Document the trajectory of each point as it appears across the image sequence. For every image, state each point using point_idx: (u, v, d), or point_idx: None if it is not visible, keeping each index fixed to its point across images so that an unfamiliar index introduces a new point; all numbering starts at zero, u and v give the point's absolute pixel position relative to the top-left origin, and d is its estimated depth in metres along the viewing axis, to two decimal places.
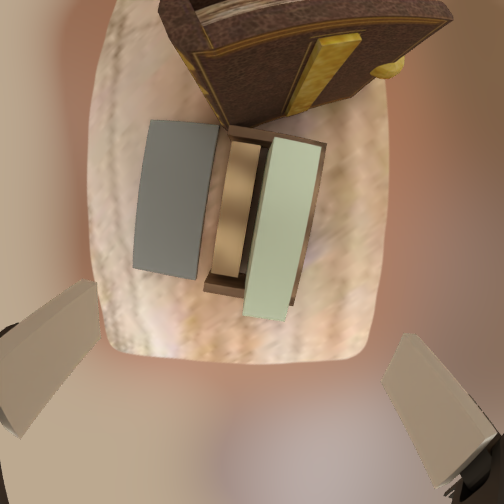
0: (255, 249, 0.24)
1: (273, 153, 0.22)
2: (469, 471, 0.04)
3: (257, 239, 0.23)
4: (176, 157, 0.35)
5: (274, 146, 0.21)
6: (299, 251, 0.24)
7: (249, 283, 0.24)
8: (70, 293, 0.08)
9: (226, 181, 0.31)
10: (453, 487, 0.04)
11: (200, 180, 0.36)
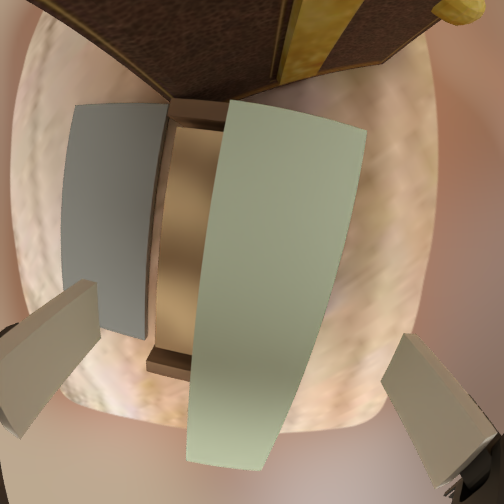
0: (192, 384, 0.09)
1: (225, 147, 0.07)
2: (469, 471, 0.04)
3: (194, 367, 0.09)
4: (105, 160, 0.21)
5: (229, 127, 0.07)
6: (293, 389, 0.09)
7: (189, 429, 0.10)
8: (70, 293, 0.08)
9: (167, 201, 0.17)
10: (453, 487, 0.04)
11: (139, 194, 0.21)
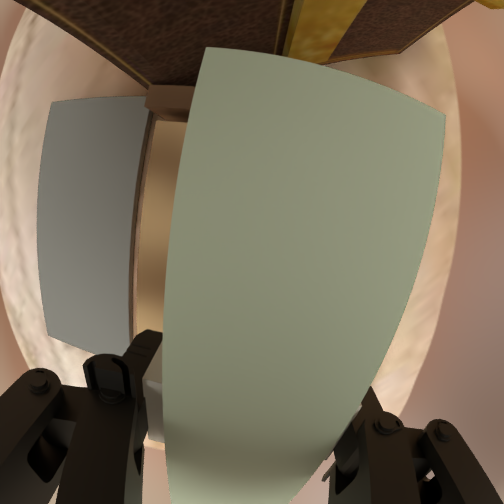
0: (170, 470, 0.06)
1: (195, 133, 0.04)
2: (340, 456, 0.06)
3: (169, 458, 0.05)
4: (81, 163, 0.17)
5: (202, 94, 0.03)
6: (304, 478, 0.06)
7: (174, 502, 0.06)
8: None
9: (144, 213, 0.13)
10: (328, 472, 0.06)
11: (119, 203, 0.18)
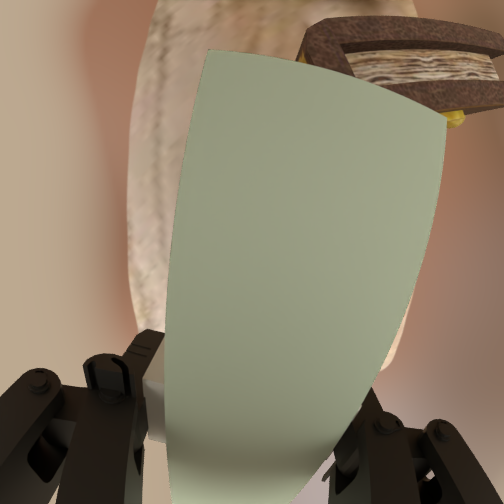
0: (171, 471, 0.06)
1: (197, 136, 0.04)
2: (340, 456, 0.06)
3: (171, 459, 0.05)
4: None
5: (204, 97, 0.03)
6: (305, 479, 0.06)
7: (175, 503, 0.06)
8: None
9: None
10: (328, 472, 0.06)
11: None
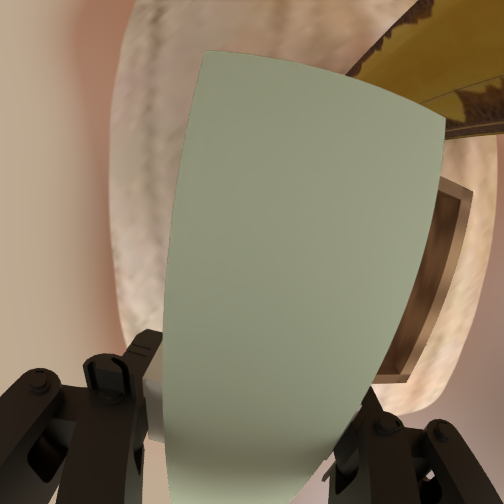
0: (170, 471, 0.06)
1: (194, 138, 0.04)
2: (340, 456, 0.06)
3: (169, 459, 0.05)
4: None
5: (201, 98, 0.03)
6: (303, 479, 0.06)
7: (174, 503, 0.06)
8: None
9: None
10: (328, 472, 0.06)
11: None
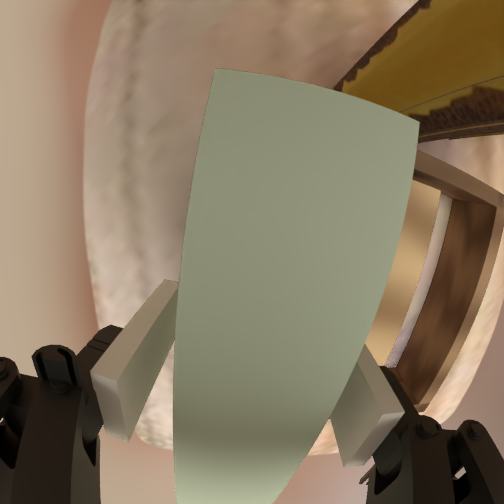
0: (176, 448, 0.07)
1: (207, 141, 0.04)
2: (380, 458, 0.06)
3: (176, 434, 0.06)
4: None
5: (212, 109, 0.04)
6: (301, 455, 0.06)
7: (178, 484, 0.07)
8: (162, 293, 0.10)
9: None
10: (367, 475, 0.06)
11: None
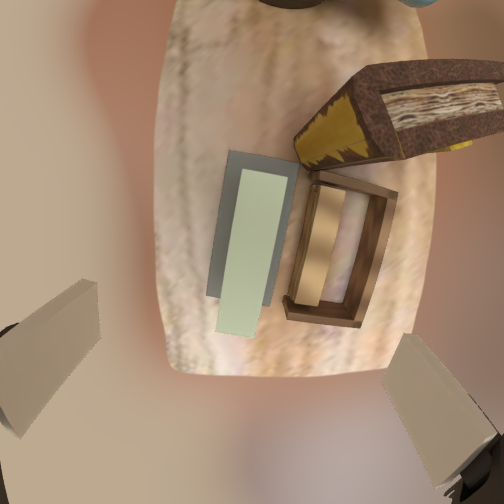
0: (225, 274, 0.26)
1: (241, 184, 0.24)
2: (469, 471, 0.04)
3: (226, 265, 0.25)
4: None
5: (242, 178, 0.23)
6: (266, 276, 0.26)
7: (220, 304, 0.26)
8: (70, 293, 0.08)
9: (315, 222, 0.35)
10: (453, 487, 0.04)
11: (280, 215, 0.39)
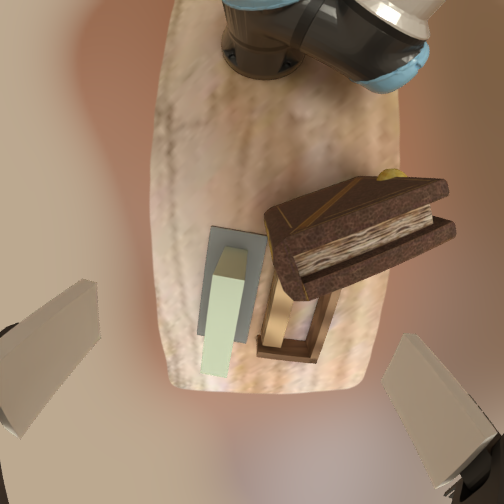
0: (204, 339, 0.36)
1: (212, 285, 0.34)
2: (469, 471, 0.04)
3: (205, 334, 0.36)
4: None
5: (212, 281, 0.34)
6: (232, 341, 0.36)
7: (202, 356, 0.37)
8: (70, 293, 0.08)
9: (277, 289, 0.45)
10: (453, 487, 0.04)
11: (253, 278, 0.50)
